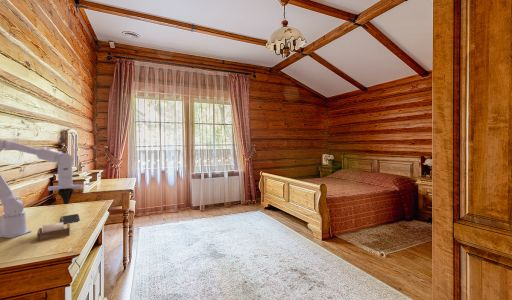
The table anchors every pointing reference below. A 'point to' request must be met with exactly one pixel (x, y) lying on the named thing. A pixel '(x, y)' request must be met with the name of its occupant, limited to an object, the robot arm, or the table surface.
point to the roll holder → (53, 233)
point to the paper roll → (52, 227)
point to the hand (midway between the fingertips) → (66, 203)
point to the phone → (70, 218)
